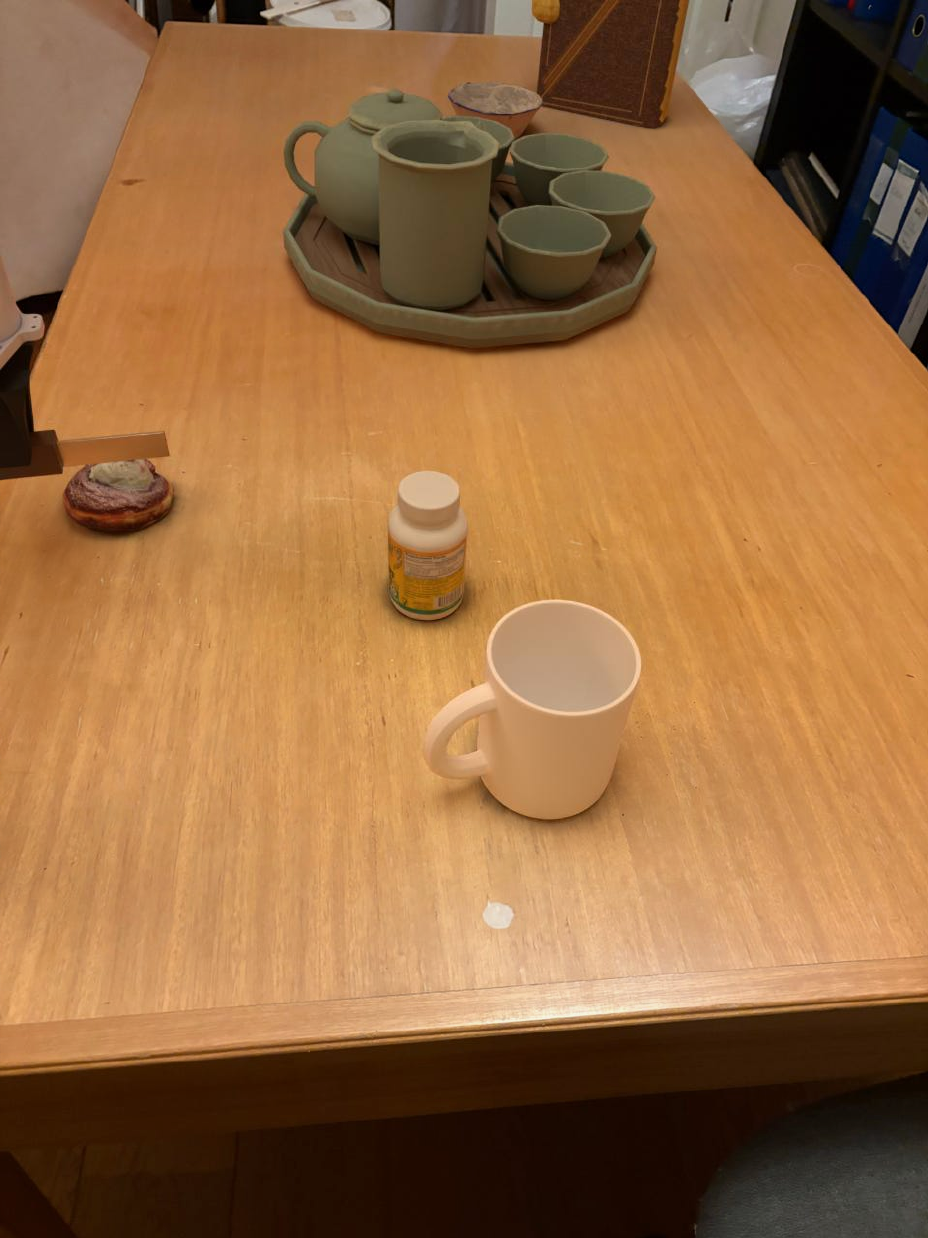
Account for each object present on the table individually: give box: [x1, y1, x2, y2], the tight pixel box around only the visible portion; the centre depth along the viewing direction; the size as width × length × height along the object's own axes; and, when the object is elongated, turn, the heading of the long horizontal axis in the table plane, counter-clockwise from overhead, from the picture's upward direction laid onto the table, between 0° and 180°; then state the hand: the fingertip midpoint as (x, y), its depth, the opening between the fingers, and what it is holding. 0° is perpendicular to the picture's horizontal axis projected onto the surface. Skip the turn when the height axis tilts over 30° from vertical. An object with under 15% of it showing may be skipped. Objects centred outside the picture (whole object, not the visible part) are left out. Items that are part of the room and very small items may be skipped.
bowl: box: [447, 81, 543, 140], centre depth 129 cm, size 13×13×5 cm
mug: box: [422, 599, 642, 820], centre depth 52 cm, size 12×8×10 cm
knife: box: [0, 429, 171, 481], centre depth 63 cm, size 12×2×2 cm, turn 104°
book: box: [531, 0, 690, 129], centre depth 131 cm, size 22×8×25 cm, turn 65°
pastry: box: [62, 459, 174, 532], centre depth 70 cm, size 8×8×5 cm
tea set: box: [282, 88, 658, 349], centre depth 97 cm, size 40×40×16 cm
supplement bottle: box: [387, 470, 469, 621], centre depth 63 cm, size 5×5×10 cm
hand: (16, 453), depth 62 cm, fingers closed on knife, 2 cm apart
